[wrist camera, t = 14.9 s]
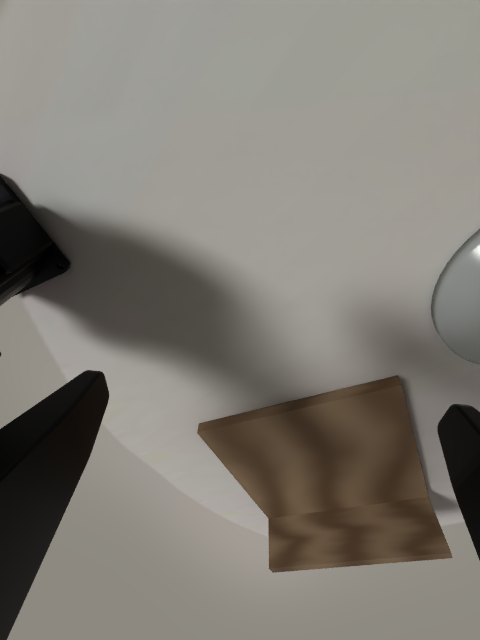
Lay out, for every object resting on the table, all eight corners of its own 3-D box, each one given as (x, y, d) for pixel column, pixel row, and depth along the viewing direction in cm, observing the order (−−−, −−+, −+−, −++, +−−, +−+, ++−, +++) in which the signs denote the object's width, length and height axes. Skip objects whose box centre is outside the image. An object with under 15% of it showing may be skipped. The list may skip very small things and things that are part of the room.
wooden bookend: (271, 513, 40) (273, 572, 35) (199, 423, 30) (186, 487, 25) (425, 492, 35) (452, 557, 30) (397, 375, 25) (429, 443, 20)
